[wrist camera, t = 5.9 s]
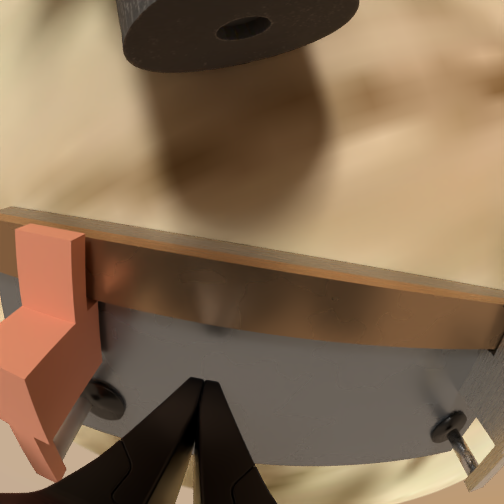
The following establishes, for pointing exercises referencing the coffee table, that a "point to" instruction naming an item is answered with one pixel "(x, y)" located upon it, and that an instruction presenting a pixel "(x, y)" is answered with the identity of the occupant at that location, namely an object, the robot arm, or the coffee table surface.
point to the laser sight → (222, 30)
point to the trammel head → (48, 347)
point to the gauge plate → (286, 345)
